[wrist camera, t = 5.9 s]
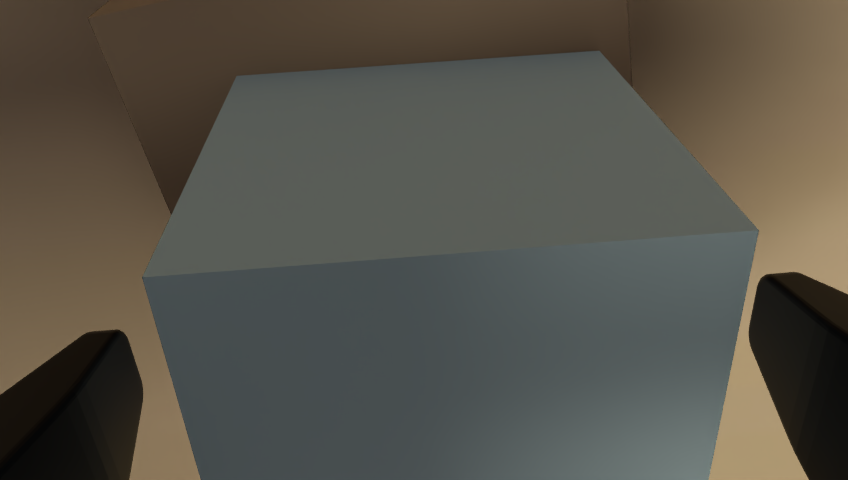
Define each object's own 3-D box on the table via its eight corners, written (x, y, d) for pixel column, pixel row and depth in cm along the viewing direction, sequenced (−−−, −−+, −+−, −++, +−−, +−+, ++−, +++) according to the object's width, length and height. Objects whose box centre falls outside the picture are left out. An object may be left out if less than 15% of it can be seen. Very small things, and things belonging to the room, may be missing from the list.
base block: (588, 219, 17) (646, 332, 13) (277, 283, 17) (253, 408, 13) (553, -129, 13) (621, -101, 10) (159, -41, 13) (87, 18, 10)
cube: (579, 337, 13) (683, 604, 9) (288, 360, 13) (247, 644, 9) (599, 50, 10) (758, 230, 6) (236, 75, 10) (142, 276, 6)
